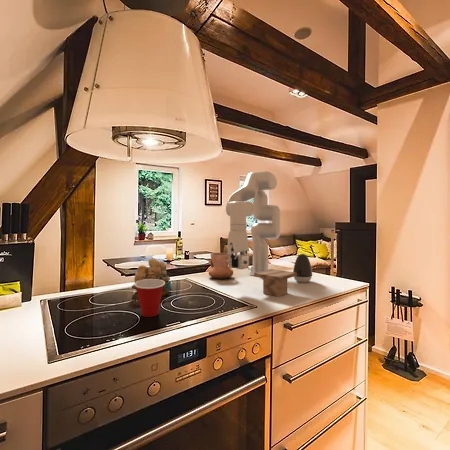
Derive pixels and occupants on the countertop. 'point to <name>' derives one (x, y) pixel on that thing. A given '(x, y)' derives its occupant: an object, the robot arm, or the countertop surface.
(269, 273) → the walnut stand
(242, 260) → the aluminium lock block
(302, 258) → the dark egg shaped dome
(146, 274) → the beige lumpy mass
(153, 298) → the plastic cup
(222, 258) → the ceramic jug
